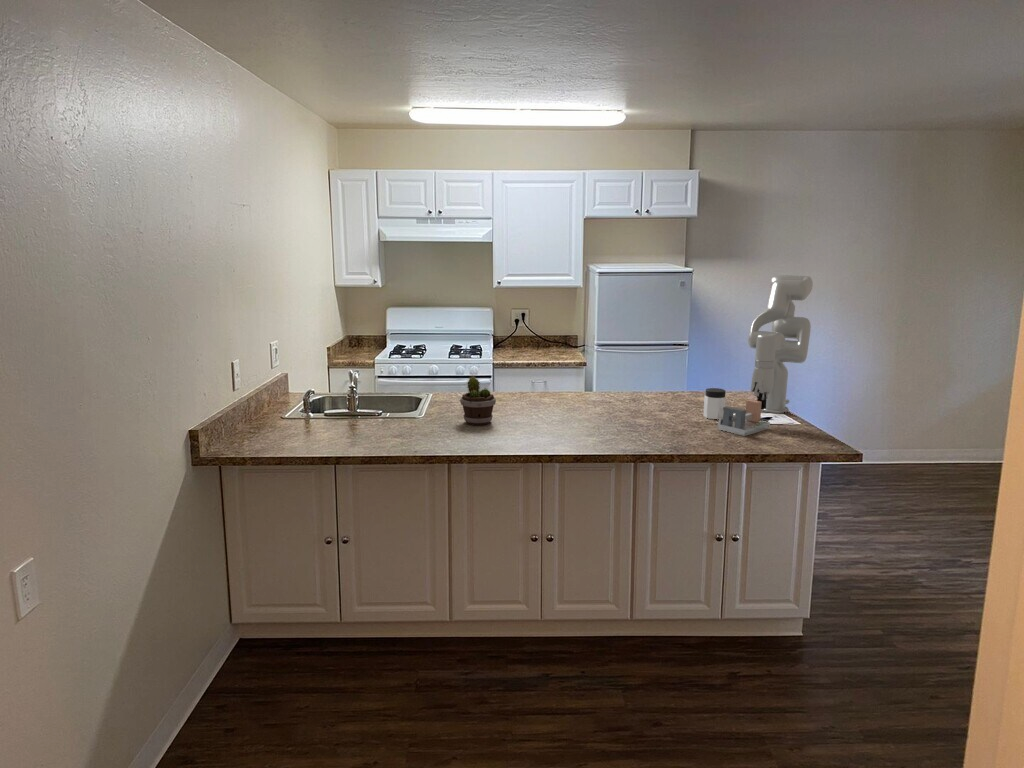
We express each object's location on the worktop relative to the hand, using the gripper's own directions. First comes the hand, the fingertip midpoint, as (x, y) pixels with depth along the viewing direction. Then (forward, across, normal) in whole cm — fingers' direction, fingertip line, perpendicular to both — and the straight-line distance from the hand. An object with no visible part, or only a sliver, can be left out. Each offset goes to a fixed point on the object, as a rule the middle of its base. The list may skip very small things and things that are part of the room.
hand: (761, 408), depth 296 cm
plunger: (+4, +11, +1) cm, 11 cm away
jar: (+7, +5, -19) cm, 21 cm away
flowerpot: (+7, +88, -75) cm, 116 cm away
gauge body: (+7, +12, 0) cm, 13 cm away
